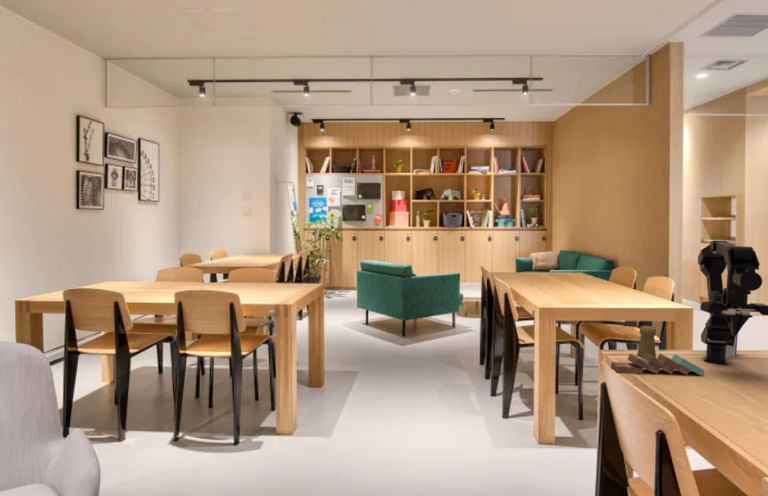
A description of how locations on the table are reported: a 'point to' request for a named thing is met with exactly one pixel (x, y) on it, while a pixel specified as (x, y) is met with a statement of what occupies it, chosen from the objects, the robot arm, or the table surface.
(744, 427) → the table surface
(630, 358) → the domino
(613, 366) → the domino
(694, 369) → the domino
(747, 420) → the table surface
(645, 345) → the cork
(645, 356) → the domino
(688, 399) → the table surface
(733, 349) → the walkman
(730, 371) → the table surface
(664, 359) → the domino
